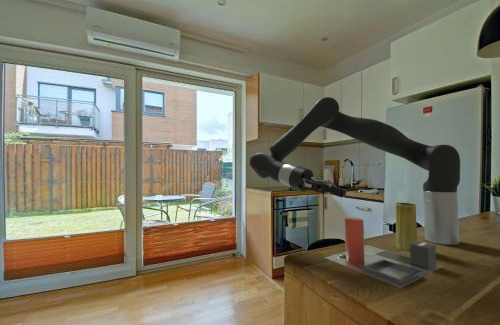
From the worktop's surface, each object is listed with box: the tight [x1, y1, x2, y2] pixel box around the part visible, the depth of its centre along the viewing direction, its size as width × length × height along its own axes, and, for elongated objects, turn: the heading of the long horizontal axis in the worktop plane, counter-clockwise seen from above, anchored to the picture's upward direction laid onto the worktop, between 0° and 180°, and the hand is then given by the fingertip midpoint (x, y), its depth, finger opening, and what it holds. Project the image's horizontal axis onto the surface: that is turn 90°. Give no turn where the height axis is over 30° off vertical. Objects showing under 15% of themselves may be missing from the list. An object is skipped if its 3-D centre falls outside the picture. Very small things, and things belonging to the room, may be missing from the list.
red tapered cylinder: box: [344, 217, 365, 264], centre depth 63 cm, size 5×5×11 cm
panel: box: [324, 244, 443, 289], centre depth 62 cm, size 20×20×2 cm
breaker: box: [409, 241, 437, 269], centre depth 60 cm, size 4×4×5 cm
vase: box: [395, 202, 419, 252], centre depth 74 cm, size 6×6×14 cm
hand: (344, 193), depth 65 cm, fingers closed
